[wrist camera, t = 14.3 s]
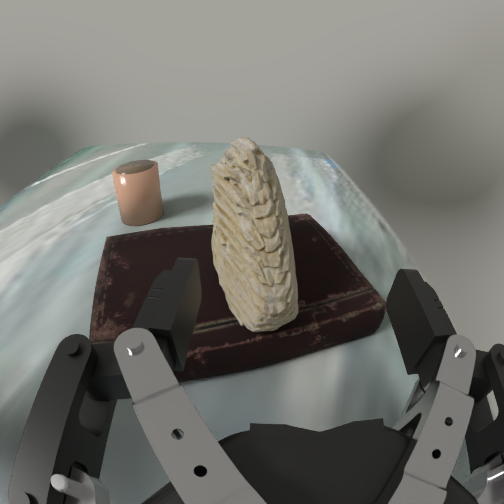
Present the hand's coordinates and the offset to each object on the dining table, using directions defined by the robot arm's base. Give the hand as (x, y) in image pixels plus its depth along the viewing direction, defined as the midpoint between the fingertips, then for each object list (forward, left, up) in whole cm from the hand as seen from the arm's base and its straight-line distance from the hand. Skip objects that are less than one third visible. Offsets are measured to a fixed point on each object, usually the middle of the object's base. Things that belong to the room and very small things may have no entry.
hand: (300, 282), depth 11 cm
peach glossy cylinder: (-21, +29, -13) cm, 38 cm away
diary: (-5, +13, -14) cm, 20 cm away
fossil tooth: (-3, +12, -9) cm, 15 cm away
